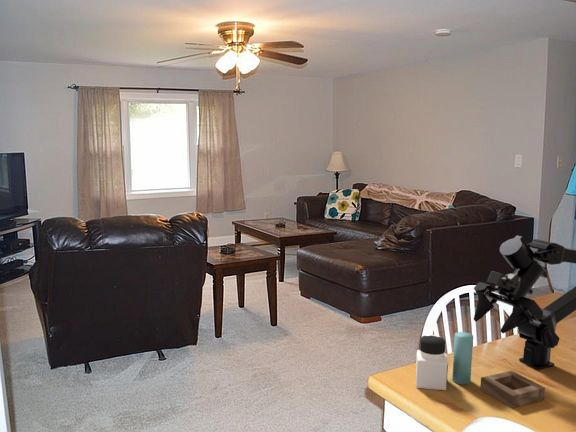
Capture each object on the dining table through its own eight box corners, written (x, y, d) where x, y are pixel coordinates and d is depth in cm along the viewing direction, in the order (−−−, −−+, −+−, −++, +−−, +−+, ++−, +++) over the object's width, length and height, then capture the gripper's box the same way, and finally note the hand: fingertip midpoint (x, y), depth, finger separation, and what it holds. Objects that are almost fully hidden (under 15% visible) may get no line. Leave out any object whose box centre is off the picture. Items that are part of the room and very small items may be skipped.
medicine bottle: (446, 391, 130) (449, 343, 129) (416, 388, 132) (418, 341, 130) (444, 378, 137) (446, 333, 135) (415, 375, 139) (417, 331, 137)
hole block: (510, 381, 135) (511, 370, 135) (544, 399, 126) (545, 387, 126) (480, 389, 131) (480, 377, 131) (512, 408, 122) (513, 395, 122)
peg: (462, 375, 139) (464, 331, 137) (474, 382, 135) (477, 337, 133) (448, 378, 137) (450, 333, 135) (460, 385, 133) (463, 339, 131)
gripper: (481, 252, 145) (446, 297, 142) (538, 268, 128) (500, 319, 125) (501, 278, 149) (468, 321, 147) (559, 296, 132) (522, 346, 130)
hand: (487, 326), depth 137 cm, fingers open, 9 cm apart
